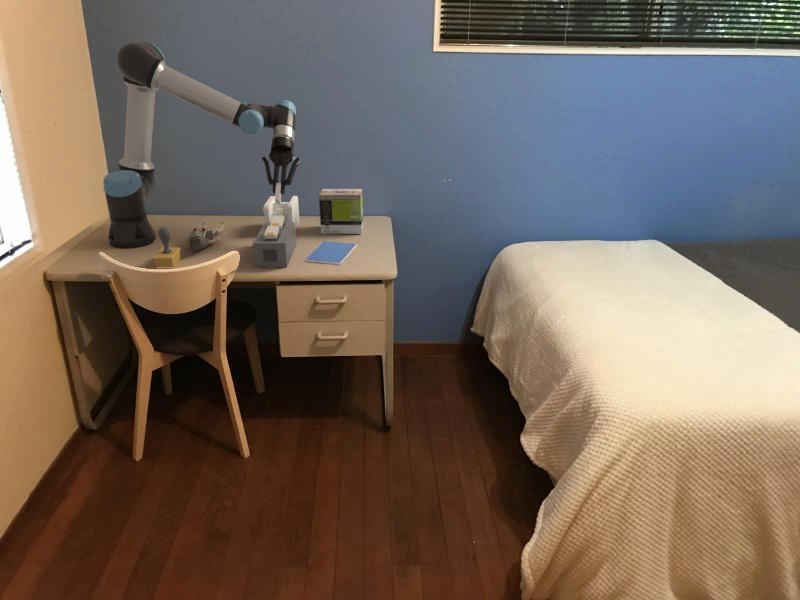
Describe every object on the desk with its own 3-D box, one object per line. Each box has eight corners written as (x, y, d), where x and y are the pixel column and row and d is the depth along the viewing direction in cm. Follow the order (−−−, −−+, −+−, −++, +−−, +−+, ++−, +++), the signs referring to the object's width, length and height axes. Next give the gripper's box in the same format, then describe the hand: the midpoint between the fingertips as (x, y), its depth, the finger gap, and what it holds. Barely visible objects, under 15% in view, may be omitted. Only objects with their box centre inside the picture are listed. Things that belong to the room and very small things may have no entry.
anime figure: (226, 217, 226) (208, 232, 197) (227, 236, 228) (210, 254, 199) (199, 217, 225) (178, 232, 196) (201, 237, 227) (180, 254, 199)
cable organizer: (293, 237, 220) (291, 205, 215) (264, 236, 220) (261, 205, 215) (300, 224, 234) (298, 194, 229) (272, 224, 234) (269, 194, 229)
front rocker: (264, 239, 191) (264, 234, 191) (268, 230, 197) (267, 225, 196) (276, 239, 192) (275, 234, 191) (279, 230, 197) (278, 225, 196)
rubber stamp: (174, 268, 191) (168, 231, 186) (154, 269, 190) (148, 232, 185) (182, 257, 200) (176, 222, 195) (164, 257, 199) (158, 222, 194)
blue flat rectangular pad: (340, 267, 195) (340, 263, 194) (303, 263, 198) (303, 259, 197) (358, 247, 212) (358, 243, 212) (323, 244, 215) (323, 240, 214)
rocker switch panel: (254, 268, 192) (252, 243, 188) (267, 244, 212) (265, 221, 209) (286, 268, 192) (285, 243, 189) (296, 244, 212) (294, 221, 209)
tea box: (363, 226, 232) (363, 188, 226) (361, 235, 223) (360, 195, 217) (323, 226, 232) (322, 187, 226) (320, 234, 223) (318, 194, 217)
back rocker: (270, 229, 201) (269, 225, 200) (273, 219, 206) (272, 215, 205) (281, 229, 201) (281, 225, 200) (284, 219, 206) (283, 215, 205)
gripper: (303, 148, 216) (298, 207, 208) (265, 147, 216) (260, 207, 207) (300, 135, 209) (295, 196, 201) (261, 135, 209) (255, 195, 200)
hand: (277, 201), depth 204 cm, fingers closed
